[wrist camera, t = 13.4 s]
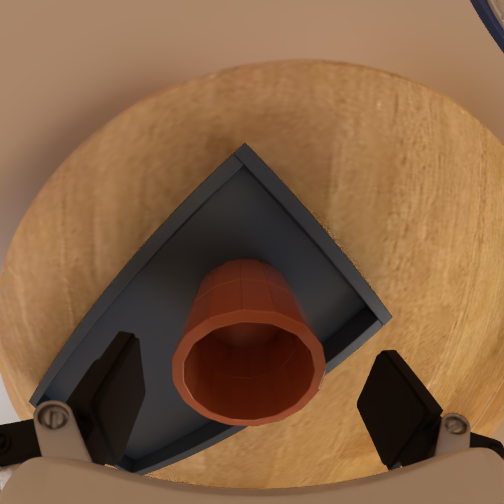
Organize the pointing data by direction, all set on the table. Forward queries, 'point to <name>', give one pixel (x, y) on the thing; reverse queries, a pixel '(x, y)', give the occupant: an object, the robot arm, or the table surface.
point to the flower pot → (247, 347)
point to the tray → (186, 284)
